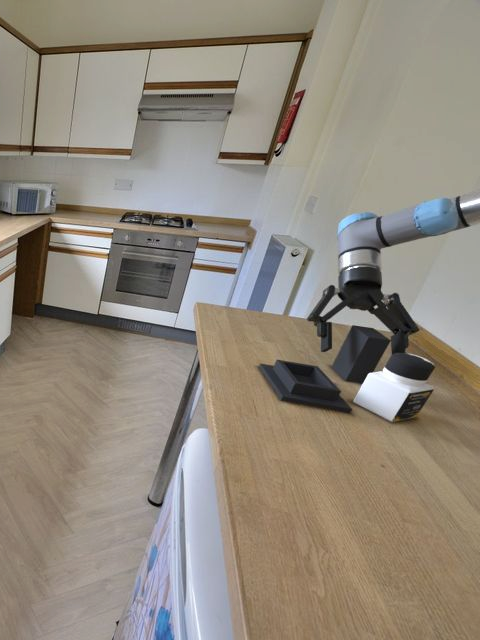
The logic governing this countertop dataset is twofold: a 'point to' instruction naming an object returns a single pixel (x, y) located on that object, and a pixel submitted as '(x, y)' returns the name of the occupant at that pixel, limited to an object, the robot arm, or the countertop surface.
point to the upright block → (360, 353)
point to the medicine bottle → (397, 387)
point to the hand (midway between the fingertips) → (361, 355)
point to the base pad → (304, 385)
